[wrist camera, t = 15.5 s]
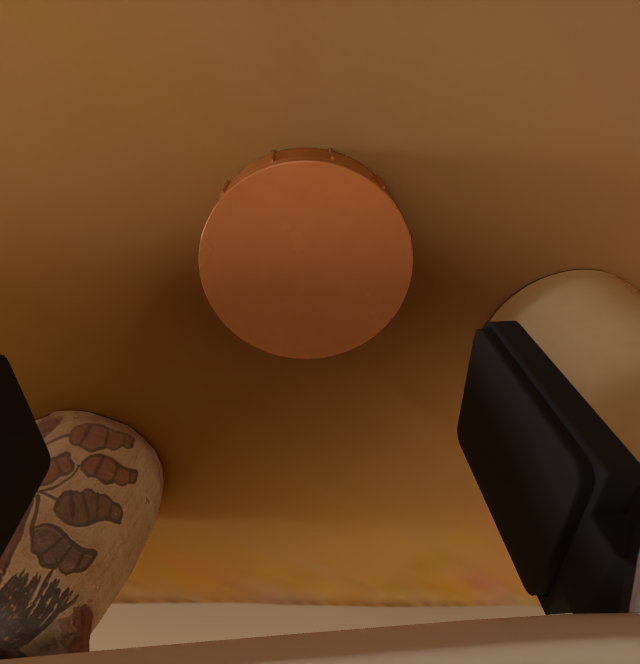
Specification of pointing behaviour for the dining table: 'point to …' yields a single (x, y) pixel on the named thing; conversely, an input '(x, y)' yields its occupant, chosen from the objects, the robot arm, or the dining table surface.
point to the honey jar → (588, 340)
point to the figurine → (77, 534)
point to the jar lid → (305, 254)
